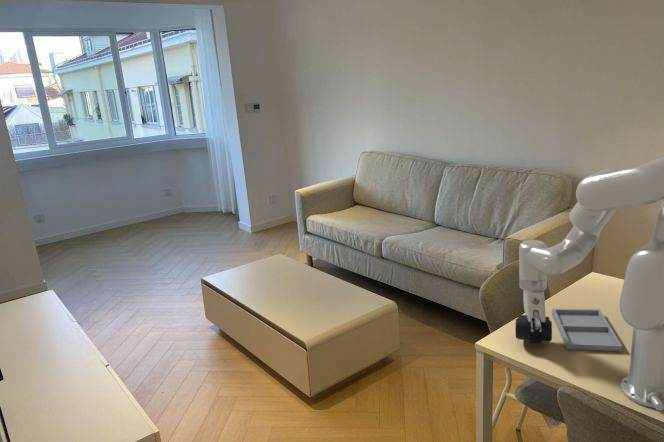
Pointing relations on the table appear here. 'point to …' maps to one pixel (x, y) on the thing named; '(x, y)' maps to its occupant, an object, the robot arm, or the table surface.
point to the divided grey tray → (586, 330)
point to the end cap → (524, 328)
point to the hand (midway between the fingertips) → (533, 335)
